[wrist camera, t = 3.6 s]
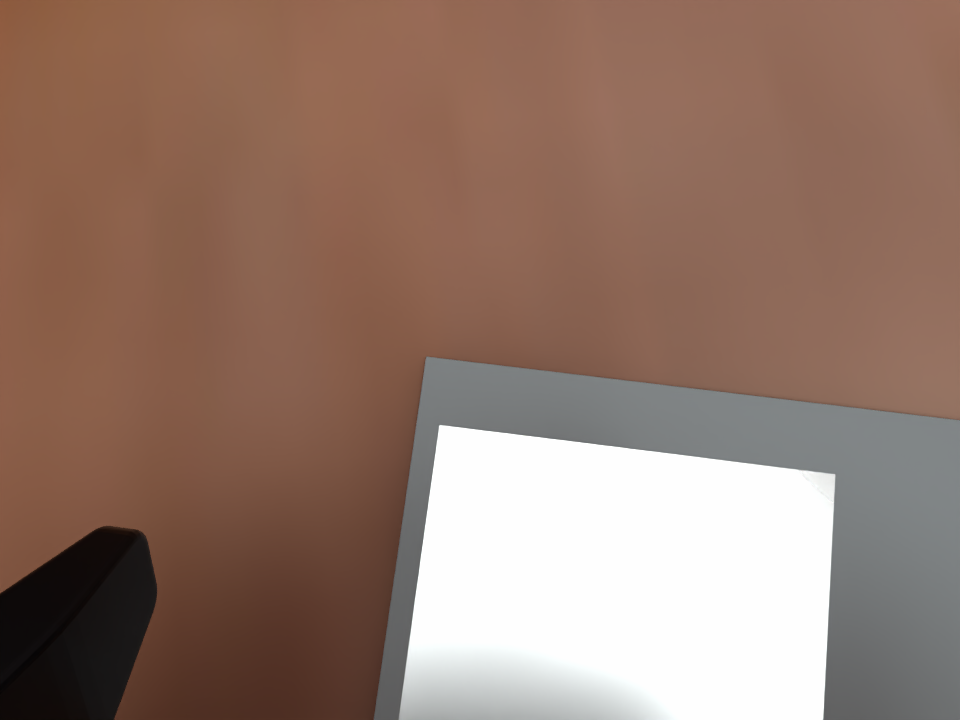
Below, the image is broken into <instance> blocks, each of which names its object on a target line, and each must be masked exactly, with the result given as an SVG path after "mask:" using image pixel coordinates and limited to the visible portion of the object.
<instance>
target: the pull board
mask: <svg viewBox="0 0 960 720" xmlns="http://www.w3.org/2000/svg"><path fill="white" fill-rule="evenodd" d="M374 720H960V420H952V419H944V418H935V417H927V416H919V415H910V414H902V413H893V412H885V411H877V410H868V409H860V408H852V407H843V406H835V405H826V404H818V403H810V402H801V401H793V400H785V399H776V398H768V397H759V396H751V395H743V394H734V393H726V392H718V391H709V390H701V389H692V388H684V387H676V386H667V385H659V384H651V383H642V382H634V381H625V380H617V379H609V378H600V377H592V376H584V375H575V374H567V373H558V372H550V371H542V370H533V369H525V368H517V367H508V366H500V365H491V364H483V363H475V362H466V361H458V360H450V359H441V358H433V357H426V362H425V369H424V376H423V383H422V390H421V397H420V404H419V411H418V417H417V424H416V431H415V438H414V445H413V452H412V459H411V466H410V473H409V480H408V487H407V494H406V500H405V507H404V514H403V521H402V528H401V535H400V542H399V549H398V556H397V563H396V570H395V577H394V583H393V590H392V597H391V604H390V611H389V618H388V625H387V632H386V639H385V646H384V653H383V660H382V666H381V673H380V680H379V687H378V694H377V701H376V708H375V715H374Z"/></svg>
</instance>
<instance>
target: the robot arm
mask: <svg viewBox="0 0 960 720" xmlns="http://www.w3.org/2000/svg"><path fill="white" fill-rule="evenodd" d="M156 598H157V583H156V579H155V574H154V569H153V564H152V560H151V555H150V550H149V546H148V541H147V538H146V536H145V535H144V534H143V533H142V532H141V531H139V530H135V529H128V528H120V527H113V526H104V527H100V528H98V529H96V530H94V531H92V532H91V533H89V534H88V535H86V536H85V537H83V538H82V539H80V540H79V541H77V542H76V543H74V544H73V545H71V546H70V547H69V548H67V549H66V550H64V551H63V552H61V553H60V554H58V555H57V556H55V557H54V558H52V559H51V560H49V561H48V562H46V563H45V564H43V565H42V566H40V567H39V568H37V569H36V570H34V571H33V572H31V573H30V574H28V575H27V576H25V577H24V578H22V579H21V580H19V581H18V582H17V583H15V584H14V585H12V586H11V587H9V588H8V589H6V590H5V591H3V592H2V593H0V720H114V718H115V715H116V712H117V710H118V707H119V704H120V702H121V699H122V696H123V693H124V691H125V688H126V685H127V682H128V680H129V677H130V674H131V671H132V669H133V666H134V663H135V660H136V658H137V655H138V652H139V649H140V647H141V644H142V641H143V638H144V636H145V633H146V630H147V627H148V625H149V622H150V619H151V616H152V614H153V611H154V608H155V603H156Z"/></svg>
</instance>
